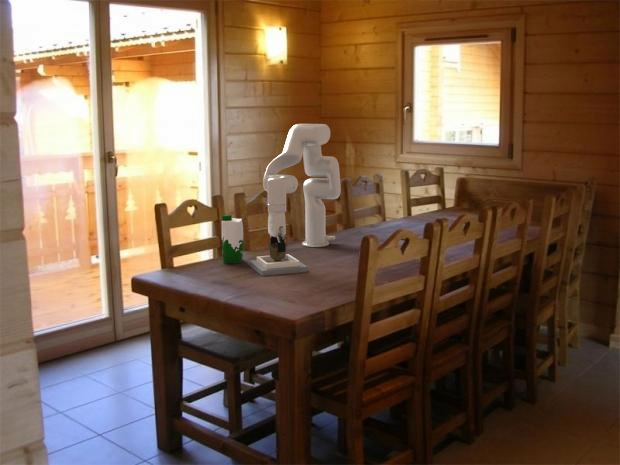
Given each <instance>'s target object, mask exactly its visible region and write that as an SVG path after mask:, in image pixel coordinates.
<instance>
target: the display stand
mask: <svg viewBox="0 0 620 465" xmlns="http://www.w3.org/2000/svg"><path fill="white" fill-rule="evenodd" d="M273 261H274V260H273V259H272V258H271V256H270V255H263V256H262V255H261V256H256V259H252V260H248V266H249V267H250V268H252V269H253V270H254V271H255V272H257V273H258V274H259V275H260V276H262V277H264V276H274V275H275V276H277V275H284V274H285V275H287V274H296V273H297V274H298V273H306V272H307V273H308V266H307V265H305V264H304V263H303V262H301V261H300V260H298V258H296V257H294V256H292V255H291V254H289V253H288V254H287V253H286V255H285V258H284V259H282V262H276V263H274V262H273Z"/></svg>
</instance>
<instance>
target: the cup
mask: <svg viewBox="0 0 620 465" xmlns="http://www.w3.org/2000/svg"><path fill="white" fill-rule="evenodd" d="M287 246H288V244H287V243H285V247H286V249H287ZM268 250H269V256H271V258H272V259H273V260H274V261H273V262H274V263H276V262H282V259H284V258H285V255H286V254H287V250H286V251H285V252H278V246H277V243H275V244H273V243H272V245H271V244H270V243H269V244H268Z"/></svg>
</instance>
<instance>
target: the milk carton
mask: <svg viewBox="0 0 620 465" xmlns="http://www.w3.org/2000/svg"><path fill="white" fill-rule="evenodd" d="M221 216H222V218H221V254H222V260H223V264H241V262H242V261H243V255H244V224H243V219H242V218H236V217H233V215H232V214H227V213H225V214H222V215H221Z"/></svg>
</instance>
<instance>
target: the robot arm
mask: <svg viewBox="0 0 620 465" xmlns="http://www.w3.org/2000/svg"><path fill="white" fill-rule="evenodd" d="M330 138H331V128H330V127H329V126H328V125H327V124H326V123H325V124H324V123H296V124H294V125H293V126H292V127H291V128H290V129H289V131H288V134H287V137H286V140H285V144H284V147H283V150H282V152H281V153H280V154H279V155H278V156H276V157H275V158H273V159H272V160H271V162H269V164H268V165H267V167H266V168H265V169H266V170H265V172H264V175H263V179H262V187H263V190H264V191H266V192H267V213H268V217H267V231H268V232H267V233H268V234H269V238H270V239H269V241H270V243H269V244H271V245H272V243H273V244H275V243H277V246H278V252H285V251H286V252H287V248H286V247H285V244H286V239H287V238H286V235H287V225H286V224H287V222H286V214H285V213H286V212H287V194H293V193H295V192H296V190H297V188H298V187H299V181H298V179H297V177H296V176H294V175H293V174H292V175H291V174H278V173H279V172H280V171H282V170H284V169H288V168H290V167H293V166H295V165H298V164H299V163H300V162H301V161H302V159H303V168H304V173H305V175H307V176H309V177H310V178H307V179H305V181H304V182H303V185H302V187H303V188H302V190H303V195H304V208H305V209H304V210H305V214H304V215H305V216H304V219H305V222H304V224H305V233H304V234H305V240H304V241H302V242H301V245H302V246H304V247H309V248H322V247H327V246H329V245H330V242H329V241H335V240H336V235H327V234H326V233H327V232H326V222H327V221H326V214H327V212H326V211H327V210H326V206H325V204H324V202H323V201H322V200H336V199H338V198H339V197H340V196H341V191H342V190H341V189H342V188H341V187H342V186H341V176H340V174H341V173H340V165H339V162H338V159H337V158H336V157H335V156H330V155H329V156H328V155H323V154H322V146H323V145H325V144H327V143H328V142H329V140H330Z"/></svg>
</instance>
